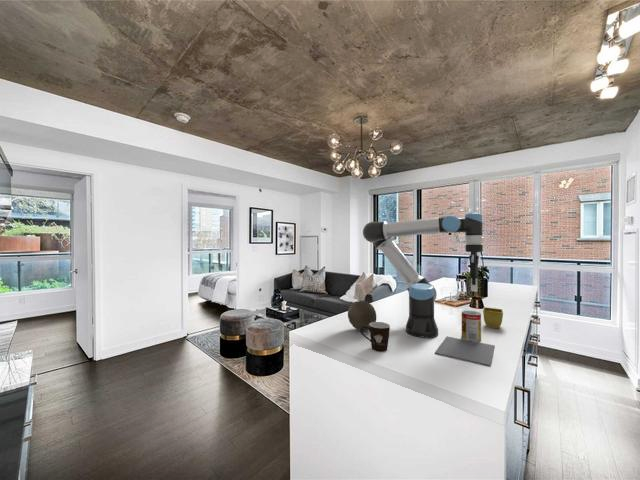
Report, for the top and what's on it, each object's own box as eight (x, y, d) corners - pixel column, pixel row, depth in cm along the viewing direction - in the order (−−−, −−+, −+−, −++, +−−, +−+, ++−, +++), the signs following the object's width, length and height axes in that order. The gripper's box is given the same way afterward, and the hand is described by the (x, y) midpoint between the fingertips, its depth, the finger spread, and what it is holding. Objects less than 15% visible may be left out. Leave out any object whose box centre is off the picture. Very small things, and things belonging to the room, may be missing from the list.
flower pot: (502, 325, 145) (502, 309, 145) (503, 330, 137) (503, 312, 137) (483, 323, 149) (483, 307, 149) (483, 327, 142) (483, 310, 142)
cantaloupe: (353, 325, 146) (353, 297, 146) (379, 328, 140) (379, 299, 140) (343, 333, 133) (343, 302, 133) (372, 337, 127) (372, 305, 127)
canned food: (477, 336, 129) (477, 310, 129) (483, 342, 121) (483, 315, 121) (459, 334, 131) (459, 310, 131) (464, 340, 123) (464, 314, 123)
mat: (434, 353, 108) (434, 352, 108) (446, 337, 127) (446, 336, 127) (490, 366, 97) (490, 365, 97) (494, 346, 116) (494, 345, 116)
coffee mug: (394, 348, 114) (393, 324, 114) (383, 354, 107) (382, 329, 108) (370, 341, 122) (370, 319, 122) (359, 346, 116) (359, 323, 116)
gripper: (481, 244, 128) (481, 294, 128) (483, 244, 139) (484, 290, 138) (463, 244, 133) (463, 292, 132) (467, 243, 143) (467, 288, 143)
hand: (474, 291), depth 135 cm, fingers closed
